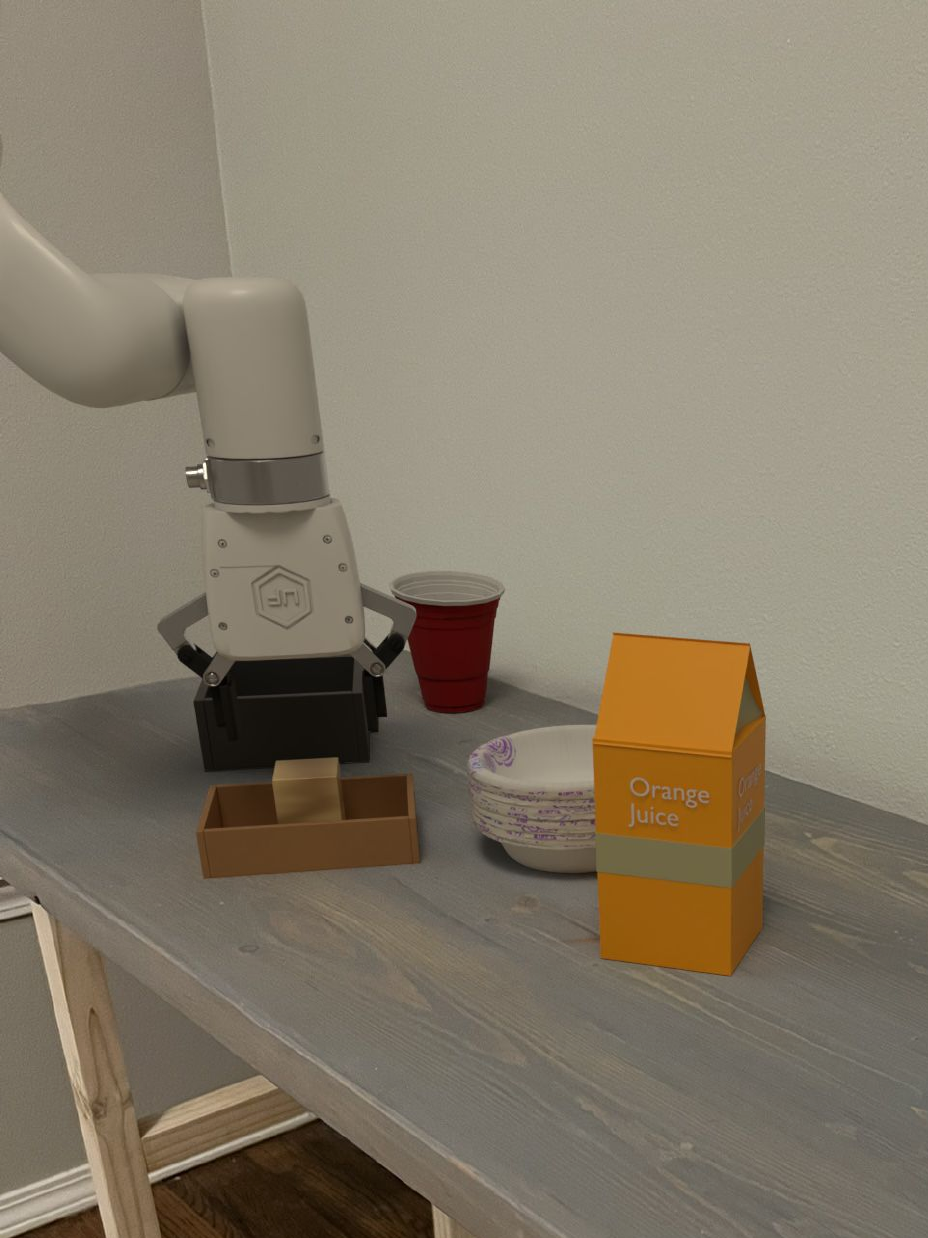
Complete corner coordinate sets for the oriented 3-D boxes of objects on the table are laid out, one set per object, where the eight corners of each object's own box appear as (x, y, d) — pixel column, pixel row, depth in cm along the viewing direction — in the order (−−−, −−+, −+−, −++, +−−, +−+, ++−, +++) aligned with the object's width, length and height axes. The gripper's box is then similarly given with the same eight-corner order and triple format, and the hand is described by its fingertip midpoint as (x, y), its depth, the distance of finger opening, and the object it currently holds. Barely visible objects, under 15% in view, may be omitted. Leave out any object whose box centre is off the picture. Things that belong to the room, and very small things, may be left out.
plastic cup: (451, 728, 138) (440, 598, 133) (377, 707, 144) (364, 582, 139) (535, 703, 146) (528, 580, 140) (461, 684, 152) (452, 565, 146)
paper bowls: (460, 828, 115) (452, 729, 111) (649, 809, 119) (647, 713, 115) (491, 903, 102) (483, 794, 98) (703, 879, 106) (702, 774, 103)
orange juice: (730, 977, 92) (733, 659, 83) (598, 958, 94) (586, 647, 85) (764, 927, 99) (769, 628, 90) (639, 911, 101) (632, 617, 92)
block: (282, 858, 108) (271, 780, 105) (286, 836, 112) (275, 760, 109) (346, 854, 109) (336, 776, 106) (347, 832, 112) (338, 756, 110)
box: (204, 884, 105) (195, 831, 103) (217, 834, 113) (209, 785, 111) (420, 869, 107) (415, 817, 106) (417, 821, 116) (412, 773, 114)
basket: (205, 777, 125) (192, 700, 122) (220, 730, 137) (209, 659, 134) (370, 767, 128) (361, 692, 125) (370, 722, 140) (363, 652, 137)
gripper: (124, 495, 93) (172, 756, 101) (403, 485, 97) (429, 739, 104) (141, 478, 100) (185, 724, 108) (401, 470, 103) (426, 709, 111)
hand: (305, 731), depth 106 cm, fingers open, 9 cm apart
